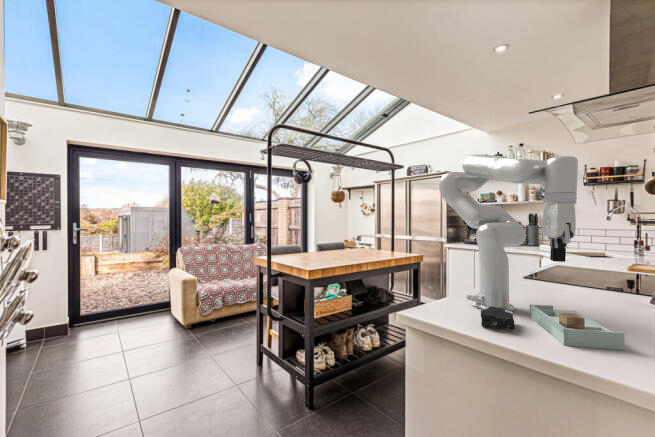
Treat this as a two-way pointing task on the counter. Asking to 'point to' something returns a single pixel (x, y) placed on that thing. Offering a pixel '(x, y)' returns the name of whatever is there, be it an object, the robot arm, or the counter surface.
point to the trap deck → (576, 330)
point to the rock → (497, 318)
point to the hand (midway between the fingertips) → (557, 260)
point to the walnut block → (571, 321)
